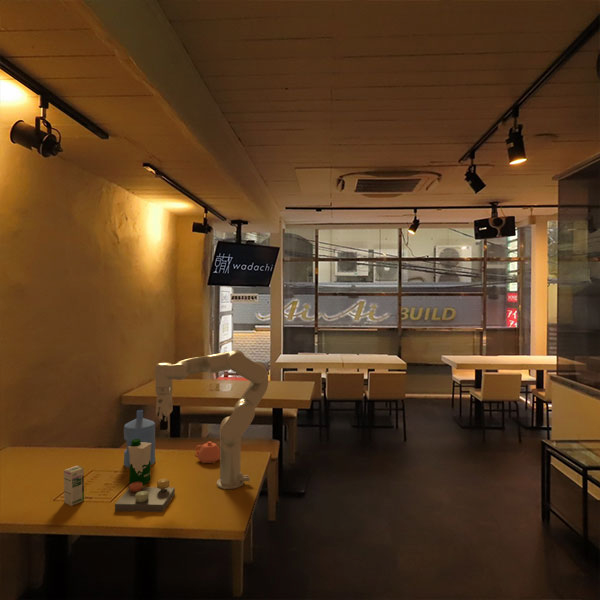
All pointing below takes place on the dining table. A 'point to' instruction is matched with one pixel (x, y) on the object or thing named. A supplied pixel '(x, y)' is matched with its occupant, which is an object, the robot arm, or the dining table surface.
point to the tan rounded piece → (163, 484)
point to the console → (153, 504)
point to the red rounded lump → (136, 486)
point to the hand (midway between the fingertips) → (163, 429)
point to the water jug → (139, 435)
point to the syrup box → (73, 485)
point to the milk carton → (139, 461)
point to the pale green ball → (142, 496)
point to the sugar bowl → (208, 452)
